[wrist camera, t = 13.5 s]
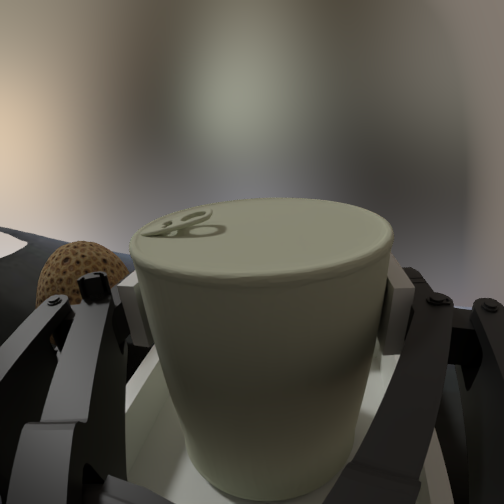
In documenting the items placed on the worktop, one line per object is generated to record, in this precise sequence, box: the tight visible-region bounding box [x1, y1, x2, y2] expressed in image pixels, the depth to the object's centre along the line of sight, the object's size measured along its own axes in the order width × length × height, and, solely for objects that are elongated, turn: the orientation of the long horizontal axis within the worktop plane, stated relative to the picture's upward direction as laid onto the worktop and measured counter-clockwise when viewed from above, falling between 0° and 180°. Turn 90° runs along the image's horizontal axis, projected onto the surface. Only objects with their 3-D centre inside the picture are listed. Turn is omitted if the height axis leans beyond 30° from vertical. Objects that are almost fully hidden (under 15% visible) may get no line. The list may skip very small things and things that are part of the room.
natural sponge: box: [36, 241, 129, 346], centre depth 22 cm, size 9×9×10 cm
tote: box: [125, 338, 454, 504], centre depth 15 cm, size 16×16×4 cm
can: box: [129, 198, 394, 501], centre depth 13 cm, size 9×9×12 cm
